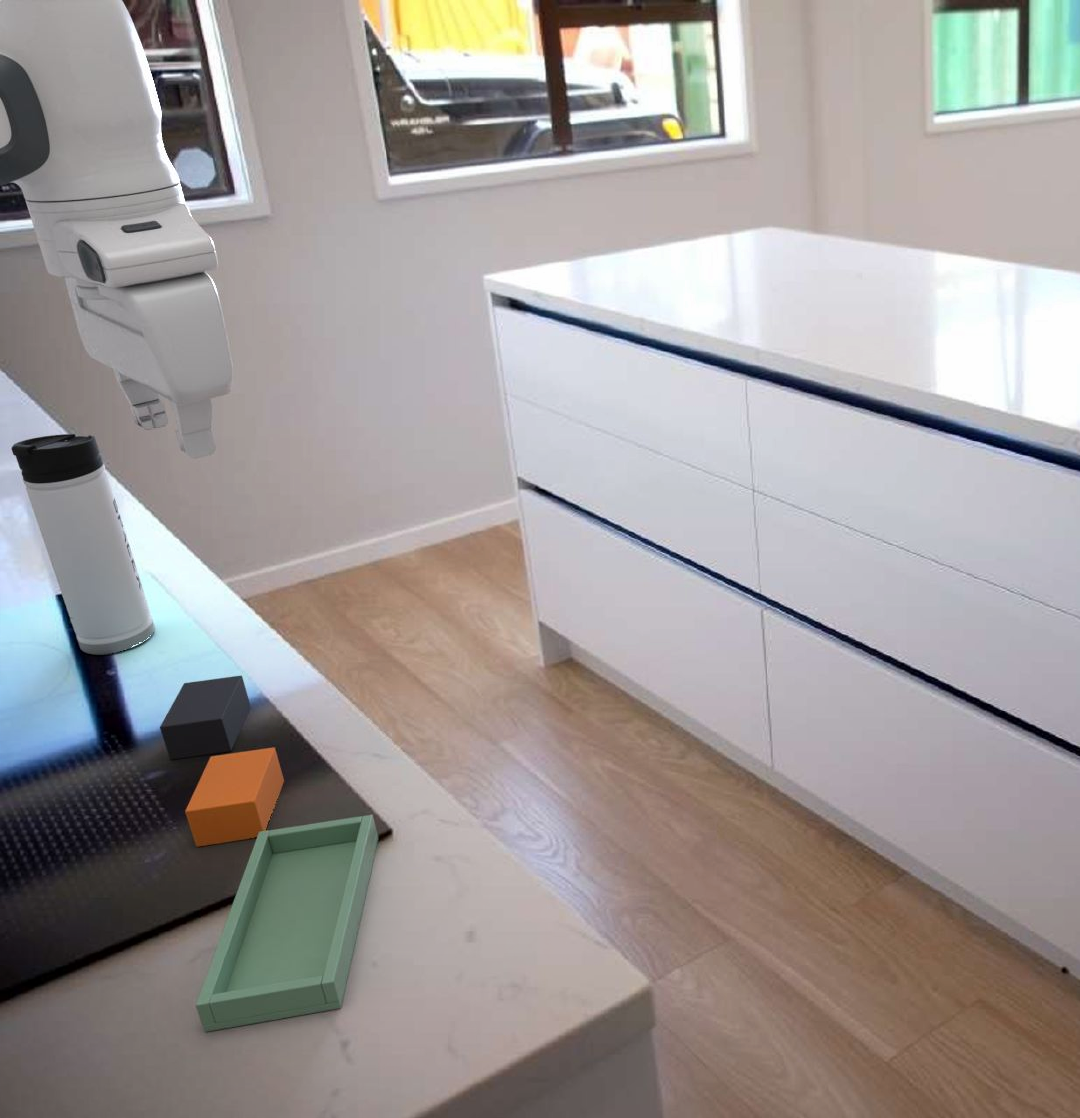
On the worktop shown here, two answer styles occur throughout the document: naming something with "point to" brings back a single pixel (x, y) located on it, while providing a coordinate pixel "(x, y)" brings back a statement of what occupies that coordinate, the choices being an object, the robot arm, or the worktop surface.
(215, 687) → the dark grey rectangular block
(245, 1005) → the tray
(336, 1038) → the worktop surface
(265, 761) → the orange block
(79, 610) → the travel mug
